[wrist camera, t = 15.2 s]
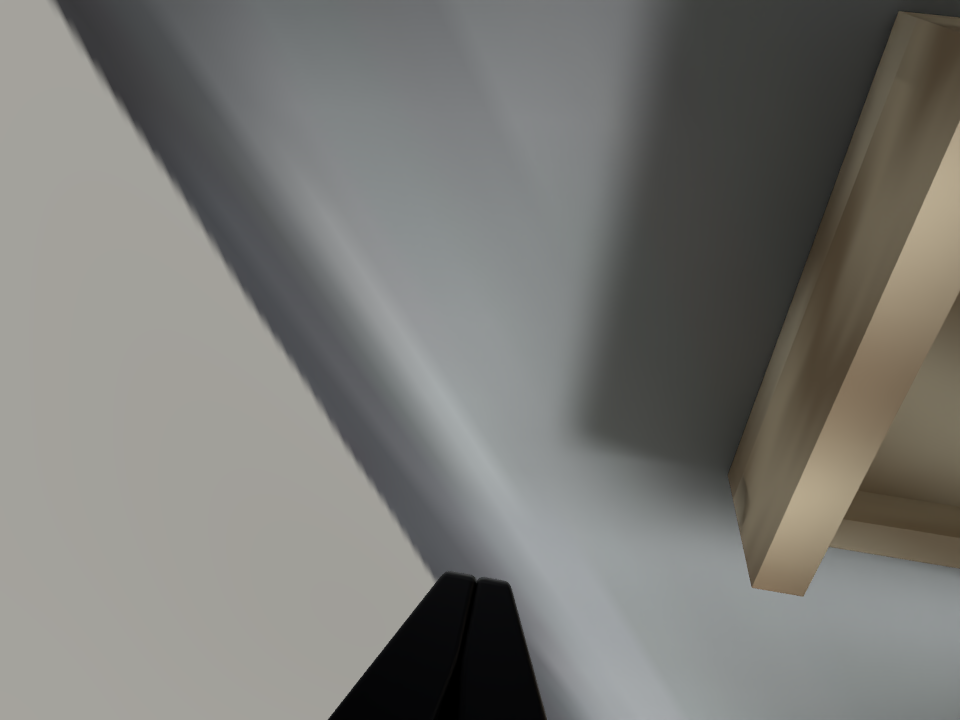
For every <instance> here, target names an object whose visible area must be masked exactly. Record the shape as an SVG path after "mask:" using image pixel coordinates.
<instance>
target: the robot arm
mask: <svg viewBox="0 0 960 720" xmlns="http://www.w3.org/2000/svg"><path fill="white" fill-rule="evenodd" d="M476 582H477V583H476ZM328 720H547V717H546V713H545V709H544V706H543V702H542V698H541V695H540V691H539V687H538V684H537V680H536V676H535V673H534V669H533V665H532V662H531V658H530V654H529V651H528V647H527V643H526V640H525V636H524V632H523V629H522V625H521V621H520V618H519V614H518V610H517V607H516V603H515V599H514V596H513V592H512V589H511V586H510V584H509V583H508V582H506V581H503V580H497V579H492V578H486V577H481V578H479V579H478V580H476V578H475V577H474V576H473V575H470V574H464V573H458V572H453V571H447V572H445V573H444V574H443V575H442V576H441V577H440V578H439V579H438V581H437V582H436V583H435V584H434V586H433V587H432V588H431V590H430V591H429V592H428V593H427V595H426V596H425V597H424V598H423V600H422V601H421V602H420V603H419V605H418V606H417V607H416V609H415V610H414V611H413V612H412V614H411V615H410V616H409V618H408V619H407V620H406V621H405V622H404V624H403V625H402V626H401V628H400V629H399V630H398V631H397V633H396V634H395V635H394V637H393V638H392V639H391V640H390V641H389V643H388V644H387V645H386V647H385V648H384V649H383V650H382V652H381V653H380V654H379V655H378V657H377V658H376V659H375V660H374V662H373V663H372V664H371V666H370V667H369V668H368V669H367V671H366V672H365V673H364V675H363V676H362V677H361V678H360V679H359V681H358V682H357V683H356V685H355V686H354V687H353V688H352V690H351V691H350V692H349V694H348V695H347V696H346V697H345V699H344V700H343V701H342V702H341V704H340V705H339V706H338V707H337V709H336V710H335V712H334V713H333V714H332V715H331V716H330V718H329V719H328Z"/></svg>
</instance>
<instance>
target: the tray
mask: <svg viewBox="0 0 960 720" xmlns="http://www.w3.org/2000/svg"><path fill="white" fill-rule="evenodd" d="M728 479H729V483H730V488H731V493H732V497H733V502H734V507H735V511H736V516H737V521H738V525H739V530H740V535H741V540H742V544H743V549H744V554H745V558H746V563H747V568H748V572H749V577H750V582H751V586H752V588H757V589H762V590H768V591H774V592H780V593H786V594H792V595H797V596H804V594H805V592H806V590H807V588H808V586H809V584H810V582H811V581H812V579H813V577H814V575H815V573H816V571H817V569H818V567H819V565H820V563H821V561H822V559H823V557H824V555H825V553H826V551H827V549H828V547H833V548H839V549H845V550H851V551H857V552H863V553H869V554H875V555H881V556H887V557H893V558H899V559H906V560H912V561H918V562H924V563H930V564H936V565H942V566H948V567H954V568H960V17H950V16H941V15H931V14H922V13H913V12H903V11H898V14H897V17H896V20H895V22H894V25H893V28H892V30H891V33H890V36H889V39H888V41H887V44H886V47H885V49H884V52H883V55H882V58H881V60H880V63H879V66H878V68H877V71H876V74H875V77H874V79H873V82H872V85H871V87H870V90H869V93H868V96H867V98H866V101H865V104H864V106H863V109H862V112H861V115H860V117H859V120H858V123H857V125H856V128H855V131H854V134H853V136H852V139H851V142H850V144H849V147H848V150H847V153H846V155H845V158H844V161H843V164H842V166H841V169H840V172H839V174H838V177H837V180H836V183H835V185H834V188H833V191H832V193H831V196H830V199H829V202H828V204H827V207H826V210H825V212H824V215H823V218H822V221H821V223H820V226H819V229H818V231H817V234H816V237H815V240H814V242H813V245H812V248H811V250H810V253H809V256H808V259H807V261H806V264H805V267H804V269H803V272H802V275H801V278H800V280H799V283H798V286H797V288H796V291H795V294H794V297H793V299H792V302H791V305H790V307H789V310H788V313H787V316H786V318H785V321H784V324H783V326H782V329H781V332H780V335H779V337H778V340H777V343H776V345H775V348H774V351H773V354H772V356H771V359H770V362H769V364H768V367H767V370H766V373H765V375H764V378H763V381H762V384H761V386H760V389H759V392H758V394H757V397H756V400H755V403H754V405H753V408H752V411H751V413H750V416H749V419H748V422H747V424H746V427H745V430H744V432H743V435H742V438H741V441H740V443H739V446H738V449H737V451H736V454H735V457H734V460H733V462H732V465H731V468H730V470H729V473H728Z"/></svg>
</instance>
